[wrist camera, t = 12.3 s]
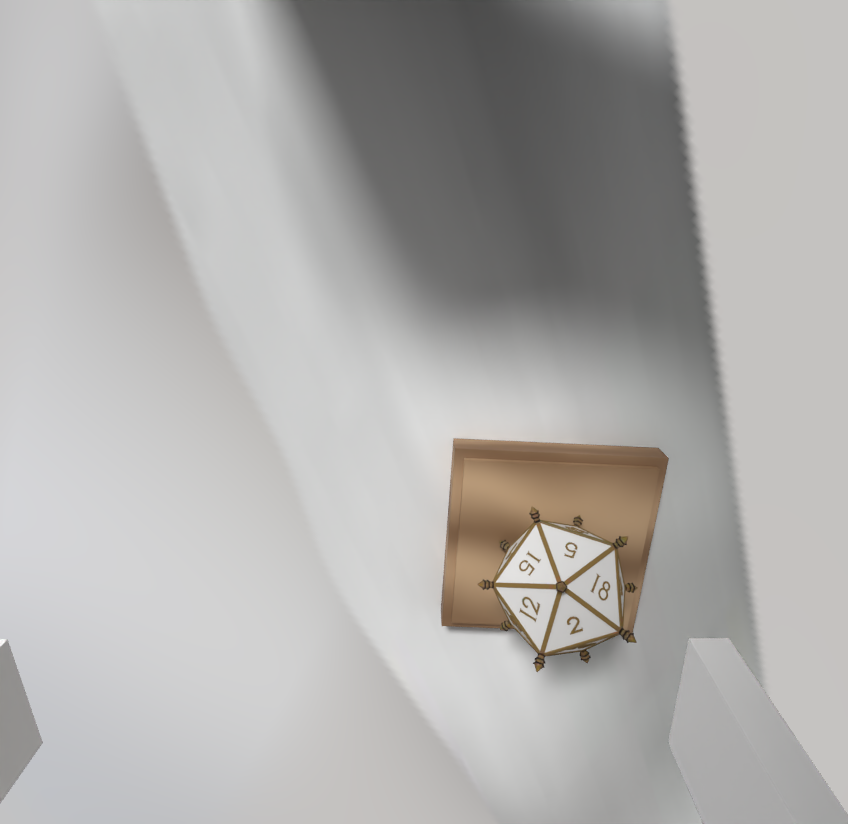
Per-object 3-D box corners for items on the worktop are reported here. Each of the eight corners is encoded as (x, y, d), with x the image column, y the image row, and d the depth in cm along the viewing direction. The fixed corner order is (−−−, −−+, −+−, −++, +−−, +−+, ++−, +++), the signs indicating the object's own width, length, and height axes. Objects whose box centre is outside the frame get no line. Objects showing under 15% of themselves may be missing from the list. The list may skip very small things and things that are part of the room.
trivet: (453, 438, 36) (455, 451, 34) (658, 448, 36) (671, 460, 34) (440, 610, 40) (441, 629, 38) (624, 617, 41) (634, 637, 39)
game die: (563, 511, 40) (700, 596, 33) (491, 614, 39) (616, 724, 32) (506, 455, 34) (660, 544, 26) (420, 576, 33) (555, 702, 25)
